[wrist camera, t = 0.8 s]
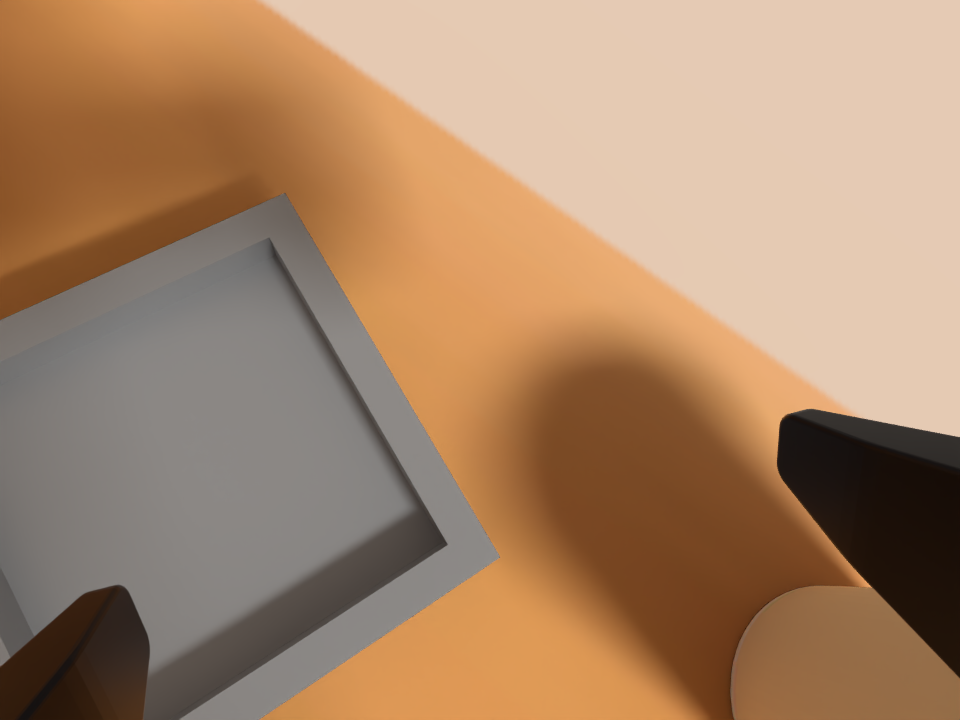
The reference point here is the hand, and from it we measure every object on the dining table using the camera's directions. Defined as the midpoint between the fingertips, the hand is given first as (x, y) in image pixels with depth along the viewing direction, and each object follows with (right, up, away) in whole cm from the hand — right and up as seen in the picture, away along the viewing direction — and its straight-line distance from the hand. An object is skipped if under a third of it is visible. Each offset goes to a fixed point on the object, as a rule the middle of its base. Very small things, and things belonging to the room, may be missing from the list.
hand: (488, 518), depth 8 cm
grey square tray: (-9, -2, +13) cm, 16 cm away
